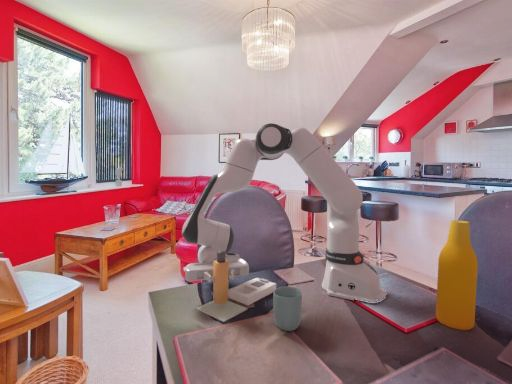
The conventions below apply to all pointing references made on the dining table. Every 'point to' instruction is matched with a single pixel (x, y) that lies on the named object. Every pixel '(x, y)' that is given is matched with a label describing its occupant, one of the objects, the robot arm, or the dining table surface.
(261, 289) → the white bottle holder
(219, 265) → the orange capped bottle
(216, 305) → the mat
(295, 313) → the cup
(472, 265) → the beer bottle
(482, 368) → the dining table surface
